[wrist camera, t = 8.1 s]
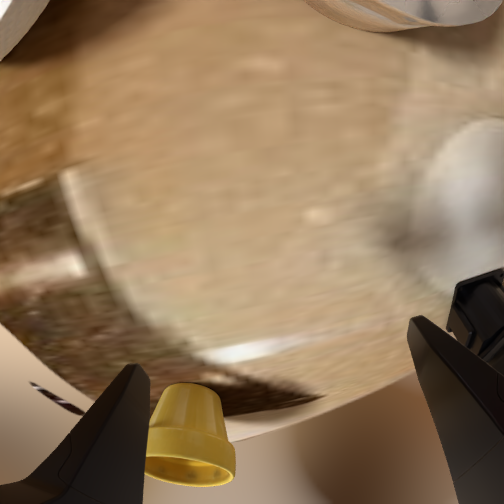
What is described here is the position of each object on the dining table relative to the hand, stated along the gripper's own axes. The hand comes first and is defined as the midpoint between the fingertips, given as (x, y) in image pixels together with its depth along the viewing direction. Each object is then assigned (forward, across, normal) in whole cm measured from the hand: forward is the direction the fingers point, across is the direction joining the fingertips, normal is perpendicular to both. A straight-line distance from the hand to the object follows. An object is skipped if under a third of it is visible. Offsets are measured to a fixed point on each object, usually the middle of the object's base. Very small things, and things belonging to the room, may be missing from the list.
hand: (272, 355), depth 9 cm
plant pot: (+13, +12, +22) cm, 28 cm away
